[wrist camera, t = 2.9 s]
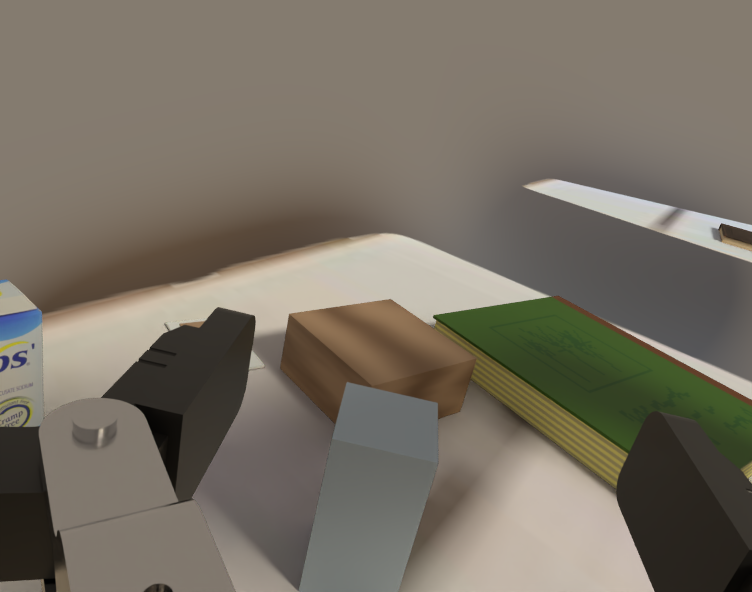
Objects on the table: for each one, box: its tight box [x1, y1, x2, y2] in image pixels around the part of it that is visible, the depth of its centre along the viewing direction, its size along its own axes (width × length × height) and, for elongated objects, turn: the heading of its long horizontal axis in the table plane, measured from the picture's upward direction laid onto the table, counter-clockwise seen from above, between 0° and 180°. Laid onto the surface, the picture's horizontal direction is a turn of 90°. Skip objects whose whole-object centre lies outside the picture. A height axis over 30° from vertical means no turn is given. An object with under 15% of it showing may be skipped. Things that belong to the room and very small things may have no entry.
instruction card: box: [166, 318, 265, 370], centre depth 46 cm, size 5×8×1 cm, turn 35°
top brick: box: [299, 382, 438, 592], centre depth 28 cm, size 4×4×9 cm
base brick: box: [280, 299, 477, 424], centre depth 44 cm, size 10×10×5 cm
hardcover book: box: [433, 296, 752, 489], centre depth 50 cm, size 25×19×4 cm
